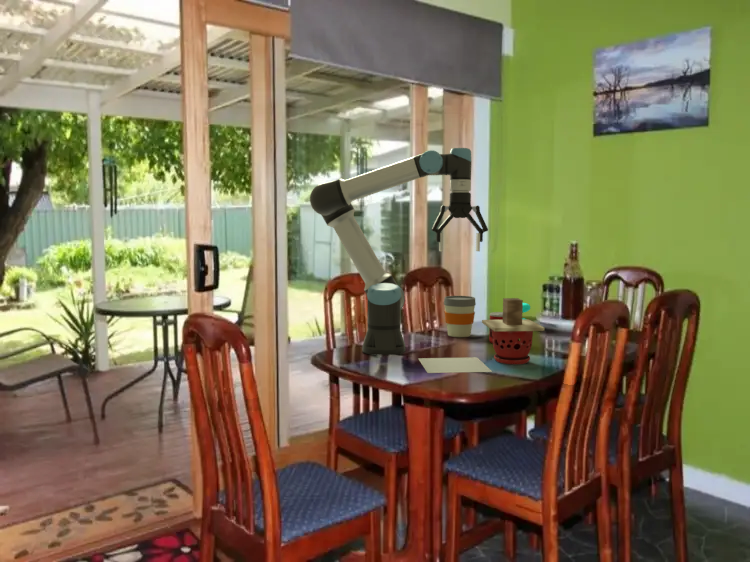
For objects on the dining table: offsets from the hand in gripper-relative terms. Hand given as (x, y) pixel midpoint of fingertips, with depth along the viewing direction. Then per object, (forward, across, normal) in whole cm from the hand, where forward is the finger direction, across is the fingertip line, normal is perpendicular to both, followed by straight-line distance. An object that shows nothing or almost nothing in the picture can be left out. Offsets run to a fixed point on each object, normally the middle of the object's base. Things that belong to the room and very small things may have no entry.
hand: (459, 251), depth 245 cm
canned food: (+35, +17, +5) cm, 39 cm away
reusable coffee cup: (+35, +5, +21) cm, 41 cm away
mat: (+35, -8, -32) cm, 48 cm away
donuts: (+35, +34, +38) cm, 62 cm away
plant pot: (+35, +12, -28) cm, 46 cm away
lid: (+23, +12, -28) cm, 38 cm away
